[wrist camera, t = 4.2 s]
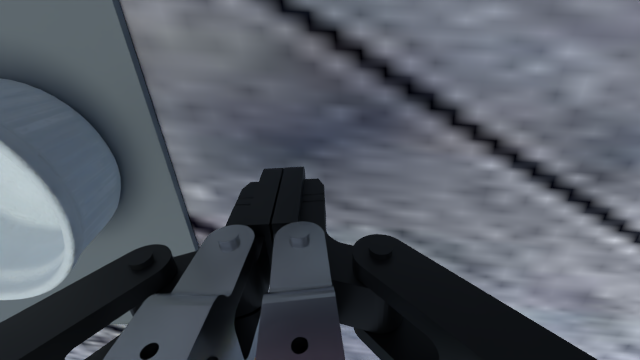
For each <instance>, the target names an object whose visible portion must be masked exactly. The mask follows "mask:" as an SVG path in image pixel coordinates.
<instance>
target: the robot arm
mask: <svg viewBox="0 0 640 360" xmlns="http://www.w3.org/2000/svg"><path fill="white" fill-rule="evenodd" d="M269 285H270V288H269ZM268 291H269V292H268ZM128 311H130V312H131V314H132V316H133V318H132V319H131V321H130V322H129V323H128V325H127V326H126V328H125V329H124V330H123V332H122V333H121V334H120V335H119V336H117V337H116V338H115V339H113V340H112V341H110V342H109V343H108V344H106V345H105V346H103V347H102V348H100V349H99V350H98V351H96V352H95V353H93V354H92V355H91V356H89V357H88V358H86V359H84V360H254V359H255V356H256V359H255V360H345V356H344V349H343V342H342V336H341V329H340V324H344V325H347V326H351V327H354V330H355V333H356V334H357V336H358V337H359V338H360V339H361V340H362V341H363V342H364V343H365V344H366V345H367V346H368V347H369V348H370V349H371V350H372V351H373V352H374V353H375V354H376V355H377V356H378V357H379V358H380V359H381V360H597V359H595V358H594V357H592V356H590V355H589V354H587V353H585V352H584V351H582V350H580V349H579V348H577V347H575V346H574V345H572V344H570V343H569V342H567V341H566V340H564V339H562V338H561V337H559V336H557V335H556V334H554V333H552V332H551V331H549V330H547V329H546V328H544V327H542V326H541V325H539V324H537V323H536V322H534V321H532V320H531V319H529V318H527V317H526V316H524V315H522V314H521V313H519V312H517V311H516V310H514V309H512V308H511V307H509V306H507V305H506V304H504V303H502V302H501V301H499V300H497V299H496V298H494V297H492V296H491V295H489V294H487V293H486V292H484V291H482V290H481V289H479V288H478V287H476V286H474V285H473V284H471V283H469V282H468V281H466V280H464V279H463V278H461V277H459V276H458V275H456V274H454V273H453V272H451V271H449V270H448V269H446V268H444V267H443V266H441V265H439V264H438V263H436V262H434V261H433V260H431V259H429V258H428V257H426V256H424V255H423V254H421V253H419V252H418V251H416V250H414V249H413V248H411V247H409V246H408V245H406V244H404V243H403V242H401V241H399V240H398V239H396V238H394V237H391V236H387V235H381V234H374V235H368V236H365V237H363V238H361V239H359V240H358V241H357V242H356V243H355V245H354V246H353V245H348V244H343V243H340V242H338V241H336V240H334V239H332V238H331V237H330V236H329V235H328V234H327V232H326V211H325V195H324V185H323V184H322V182H321V181H320V180H319V179H305V169H304V167H290V168H272V169H264V170H263V173H262V175H261V178H260V181H259V182H250V183H249V184H248V185H247V186H246V187H244V188H243V189H242V191H241V193H240V195H239V197H238V199H237V202H236V204H235V206H234V208H233V210H232V213H231V215H230V217H229V219H228V221H227V224H226V226H225V227H222V228H219V229H217V230H215V231H214V232H212V233H211V234H210V235H209V236H207V238H206V239H205V240H204V242H203V243H202V245H201V247H200V248H199V250H197V251H194V252H190V253H187V254H183V255H179V256H175V257H173V255H172V252H171V250H170V248H169V247H167V246H165V245H161V244H152V245H147V246H143V247H140V248H137V249H135V250H133V251H131V252H129V253H127V254H125V255H124V256H122V257H120V258H118V259H116V260H114V261H113V262H111V263H109V264H107V265H105V266H103V267H102V268H100V269H98V270H96V271H94V272H92V273H91V274H89V275H87V276H85V277H83V278H81V279H79V280H78V281H76V282H74V283H72V284H70V285H68V286H67V287H65V288H63V289H61V290H59V291H57V292H56V293H54V294H52V295H50V296H48V297H46V298H45V299H43V300H41V301H39V302H37V303H35V304H34V305H32V306H30V307H28V308H26V309H24V310H23V311H21V312H19V313H17V314H15V315H13V316H12V317H10V318H8V319H6V320H4V321H2V322H1V323H0V360H65V359H64V358H65V357H66V356H67V354H68V353H69V352H70V351H71V350H72V349H73V348H75V347H76V346H78V345H79V344H81V343H82V342H84V341H85V340H87V339H88V338H90V337H91V336H92V335H94V334H95V333H97V332H98V331H100V330H101V329H103V328H104V327H106V326H107V325H109V324H110V323H112V322H113V321H115V320H116V319H118V318H119V317H121V316H122V315H124V314H125V313H127V312H128Z"/></svg>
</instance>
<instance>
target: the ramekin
mask: <svg viewBox="0 0 640 360" xmlns="http://www.w3.org/2000/svg"><path fill="white" fill-rule="evenodd" d="M120 191H121V177H120V173H119V169H118V165H117V163H116V160H115V158H114V156H113V154H112V152H111V151H110V149H109V147H108V146H107V144H106V143H105V141H104V140H103V139H102V137H101V136H100V135H99V133H98V132H97V131H96V130H95V129H94V128H93V126H92V125H91V124H90V123H89V122H88V121H87V120H86V119H84V118H83V117H82V116H81V115H80V114H79V113H77V112H76V111H75V110H74V109H72V108H71V107H70V106H68V105H67V104H65V103H64V102H62V101H60V100H59V99H57V98H56V97H54V96H52V95H50V94H48V93H46V92H44V91H42V90H41V89H38V88H35V87H32V86H30V85H27V84H24V83H20V82H16V81H13V80H8V79H1V78H0V300H17V299H18V300H19V299H25V298H30V297H35V296H38V295H41V294H44V293H46V292H48V291H50V290H52V289H54V288H55V287H57V286H58V285H59V284H60V283H61V282H62V281H63V280H64V279H65V278H66V277H67V276H68V275H69V273H70V272H71V271H72V269H73V268H74V266H75V264H76V262H77V260H78V258H79V256H80V254H81V253H82V252H83V251H84V249H85V248H86V247H87V246H88V245H89V244H90V243H91V241H92V240H93V239H94V238H95V237H96V236H97V235H98V233H99V232H100V231H101V230H102V229H103V228H104V227H105V225H106V224H107V223H108V222H109V221H110V219H111V218H112V216H113V214H114V213H115V211H116V209H117V207H118V204H119V199H120Z"/></svg>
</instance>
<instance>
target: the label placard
mask: <svg viewBox="0 0 640 360" xmlns="http://www.w3.org/2000/svg"><path fill="white" fill-rule="evenodd" d="M0 78H1V79H8V80H13V81H16V82H20V83H24V84H27V85H30V86H32V87H35V88H38V89H41V90H42V91H44V92H46V93H48V94H50V95H52V96H54V97H56V98H57V99H59V100H60V101H62V102H64V103H65V104H67V105H68V106H70V107H71V108H72V109H74V110H75V111H76V112H77V113H79V114H80V115H81V116H82V117H83V118H84V119H86V120H87V121H88V122H89V123H90V124H91V125H92V126H93V128H94V129H95V130H96V131H97V132H98V133H99V135H100V136H101V137H102V139H103V140H104V141H105V143H106V144H107V146H108V147H109V149H110V151H111V152H112V154H113V156H114V158H115V160H116V163H117V165H118V169H119V173H120V177H121V191H120V199H119V204H118V207H117V209H116V211H115V213H114V214H113V216H112V218H111V219H110V221H109V222H108V223H107V224H106V225H105V227H104V228H103V229H102V230H101V231H100V232H99V233H98V235H97V236H96V237H95V238H94V239H93V240H92V241H91V243H90V244H89V245H88V246H87V247H86V248H85V249H84V251H83V252H82V253H81V254H80V256H79V258H78V260H77V262H76V264H75V266H74V268H73V269H72V271H71V272H70V273H69V275H68V276H67V277H66V278H65V279H64V280H63V281H62V282H61V283H60V284H59V285H58V286H57V287H55V288H54V289H52V290H50V291H48V292H46V293H44V294H41V295H38V296H35V297H30V298H25V299H19V300H18V299H17V300H0V323H1V322H2V321H4V320H6V319H8V318H10V317H12V316H13V315H15V314H17V313H19V312H21V311H23V310H24V309H26V308H28V307H30V306H32V305H34V304H35V303H37V302H39V301H41V300H43V299H45V298H46V297H48V296H50V295H52V294H54V293H56V292H57V291H59V290H61V289H63V288H65V287H67V286H68V285H70V284H72V283H74V282H76V281H78V280H79V279H81V278H83V277H85V276H87V275H89V274H91V273H92V272H94V271H96V270H98V269H100V268H102V267H103V266H105V265H107V264H109V263H111V262H113V261H114V260H116V259H118V258H120V257H122V256H124V255H125V254H127V253H129V252H131V251H133V250H135V249H137V248H140V247H143V246H147V245H152V244H161V245H165V246H167V247H169V248H170V250H171V252H172V255H173V257H175V256H179V255H183V254H187V253H190V252H194V251H197V250H199V247H198V244H197V241H196V238H195V235H194V232H193V229H192V226H191V223H190V220H189V217H188V213H187V210H186V207H185V204H184V201H183V198H182V195H181V192H180V189H179V186H178V183H177V180H176V176H175V173H174V170H173V167H172V164H171V161H170V158H169V155H168V152H167V149H166V146H165V143H164V139H163V136H162V133H161V130H160V127H159V124H158V121H157V118H156V115H155V112H154V109H153V106H152V102H151V99H150V96H149V93H148V90H147V87H146V84H145V81H144V78H143V75H142V72H141V69H140V65H139V62H138V59H137V56H136V53H135V50H134V47H133V44H132V41H131V38H130V35H129V32H128V28H127V25H126V22H125V19H124V16H123V13H122V10H121V7H120V4H119V1H118V0H0ZM132 318H133V316H132V314H131V312H130V311H128V312H127V313H125V314H124V315H122V316H121V317H119V318H118V319H116V320H115V321H113V322H112V323H110V324H128V323H129V322H130V321H131V319H132Z"/></svg>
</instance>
